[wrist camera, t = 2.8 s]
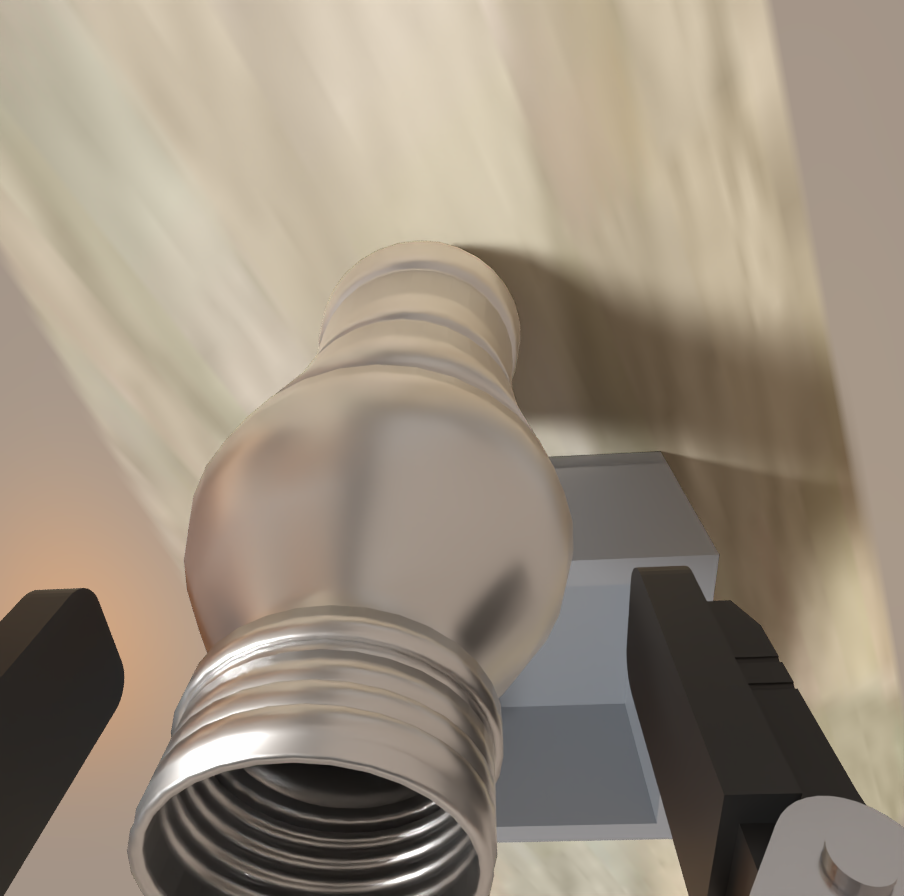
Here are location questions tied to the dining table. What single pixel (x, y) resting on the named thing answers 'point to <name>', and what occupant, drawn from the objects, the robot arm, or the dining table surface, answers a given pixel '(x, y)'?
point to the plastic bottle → (363, 605)
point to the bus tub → (596, 662)
